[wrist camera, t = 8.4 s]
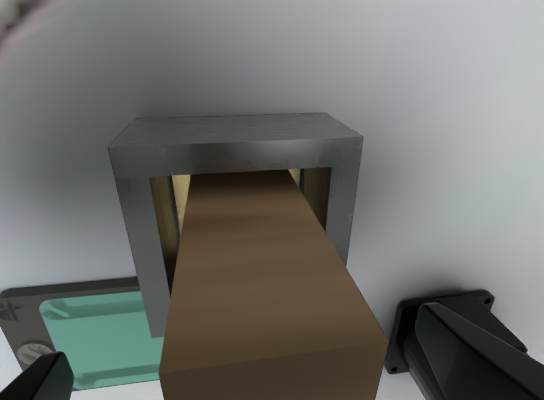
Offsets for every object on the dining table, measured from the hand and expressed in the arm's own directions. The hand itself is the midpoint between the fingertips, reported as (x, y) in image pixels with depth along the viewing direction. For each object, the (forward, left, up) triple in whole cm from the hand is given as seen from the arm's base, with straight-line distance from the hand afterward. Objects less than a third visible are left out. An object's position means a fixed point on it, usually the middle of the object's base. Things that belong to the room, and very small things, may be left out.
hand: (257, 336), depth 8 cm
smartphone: (-8, +4, -9) cm, 12 cm away
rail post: (0, 0, -8) cm, 8 cm away
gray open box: (0, 0, -8) cm, 8 cm away
